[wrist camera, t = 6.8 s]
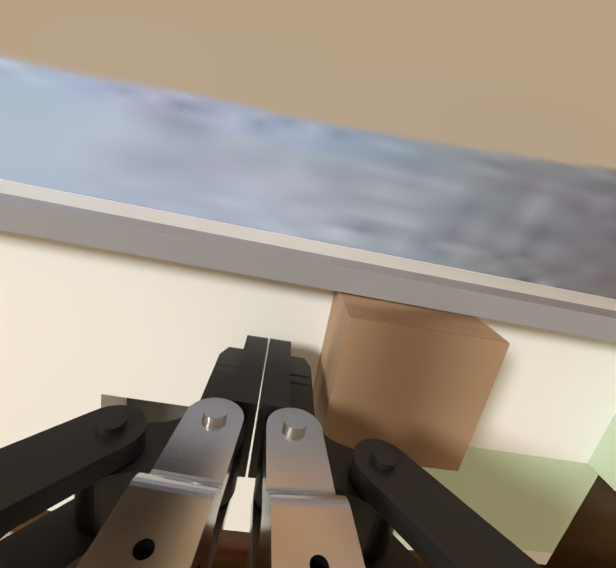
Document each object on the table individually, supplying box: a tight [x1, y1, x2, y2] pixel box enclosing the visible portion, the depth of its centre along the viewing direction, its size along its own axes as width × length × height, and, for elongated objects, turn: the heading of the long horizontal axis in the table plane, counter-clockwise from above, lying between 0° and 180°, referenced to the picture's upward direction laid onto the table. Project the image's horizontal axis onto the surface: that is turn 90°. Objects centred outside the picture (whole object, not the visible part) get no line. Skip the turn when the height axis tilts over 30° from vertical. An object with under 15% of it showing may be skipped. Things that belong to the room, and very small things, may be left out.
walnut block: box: [313, 291, 510, 471], centre depth 11 cm, size 4×4×3 cm
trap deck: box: [0, 179, 616, 565], centre depth 13 cm, size 28×13×6 cm, turn 79°
